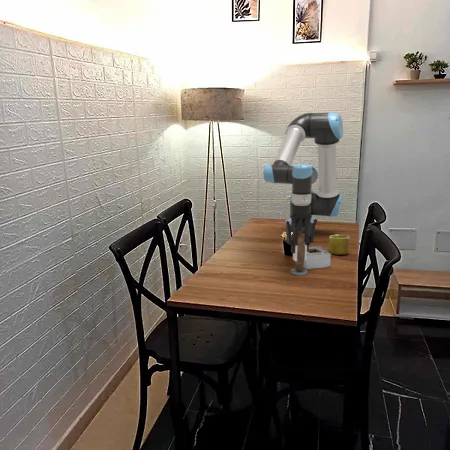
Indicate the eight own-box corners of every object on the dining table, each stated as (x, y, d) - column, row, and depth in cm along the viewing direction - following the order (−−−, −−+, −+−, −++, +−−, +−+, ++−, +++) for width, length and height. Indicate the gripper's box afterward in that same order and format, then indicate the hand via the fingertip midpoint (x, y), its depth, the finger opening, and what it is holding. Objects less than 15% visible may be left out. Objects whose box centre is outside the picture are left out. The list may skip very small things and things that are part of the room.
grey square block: (296, 260, 194) (296, 247, 192) (319, 258, 196) (319, 245, 194) (305, 269, 183) (306, 255, 182) (330, 266, 186) (330, 253, 184)
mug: (354, 253, 196) (347, 232, 196) (331, 259, 199) (325, 238, 199) (353, 250, 208) (347, 230, 208) (332, 255, 210) (326, 235, 210)
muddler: (297, 271, 178) (298, 233, 174) (293, 268, 181) (294, 231, 177) (304, 270, 178) (306, 233, 174) (301, 268, 182) (302, 231, 177)
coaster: (288, 270, 183) (288, 268, 182) (303, 268, 184) (303, 267, 184) (294, 276, 176) (294, 274, 176) (310, 274, 178) (310, 273, 177)
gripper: (284, 207, 167) (283, 264, 173) (324, 204, 171) (322, 261, 177) (278, 203, 174) (277, 258, 180) (316, 200, 178) (314, 255, 184)
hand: (299, 259), depth 179 cm, fingers closed on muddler, 3 cm apart
